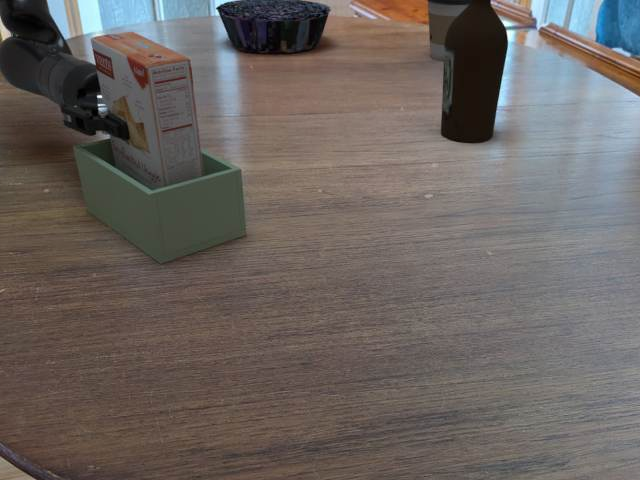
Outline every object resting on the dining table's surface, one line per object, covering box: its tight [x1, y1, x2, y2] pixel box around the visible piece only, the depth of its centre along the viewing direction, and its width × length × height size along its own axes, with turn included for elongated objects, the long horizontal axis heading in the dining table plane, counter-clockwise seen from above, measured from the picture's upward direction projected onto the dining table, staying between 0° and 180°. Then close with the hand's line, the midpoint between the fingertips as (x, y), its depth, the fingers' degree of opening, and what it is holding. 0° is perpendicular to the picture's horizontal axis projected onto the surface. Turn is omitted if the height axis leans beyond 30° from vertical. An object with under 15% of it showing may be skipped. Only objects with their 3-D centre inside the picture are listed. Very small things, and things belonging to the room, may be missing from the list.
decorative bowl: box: [215, 0, 332, 54], centre depth 176 cm, size 26×28×10 cm
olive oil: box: [440, 0, 509, 143], centre depth 123 cm, size 11×11×25 cm
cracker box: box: [90, 31, 204, 190], centre depth 90 cm, size 14×6×21 cm, turn 42°
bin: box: [72, 138, 248, 265], centre depth 94 cm, size 13×20×9 cm, turn 43°
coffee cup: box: [426, 0, 471, 62], centre depth 170 cm, size 11×11×15 cm
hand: (150, 126), depth 90 cm, fingers closed on cracker box, 6 cm apart
